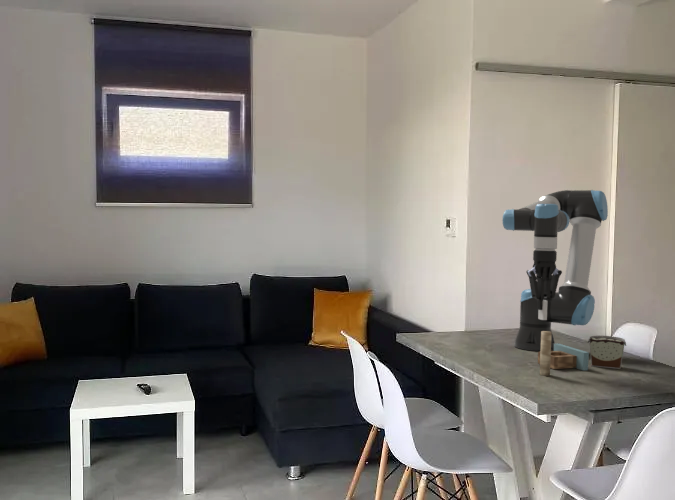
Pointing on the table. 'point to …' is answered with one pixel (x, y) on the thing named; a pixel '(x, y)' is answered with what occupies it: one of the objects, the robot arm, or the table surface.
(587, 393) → the table surface
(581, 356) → the wall
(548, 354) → the dowel
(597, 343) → the food container
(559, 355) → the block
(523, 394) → the table surface
